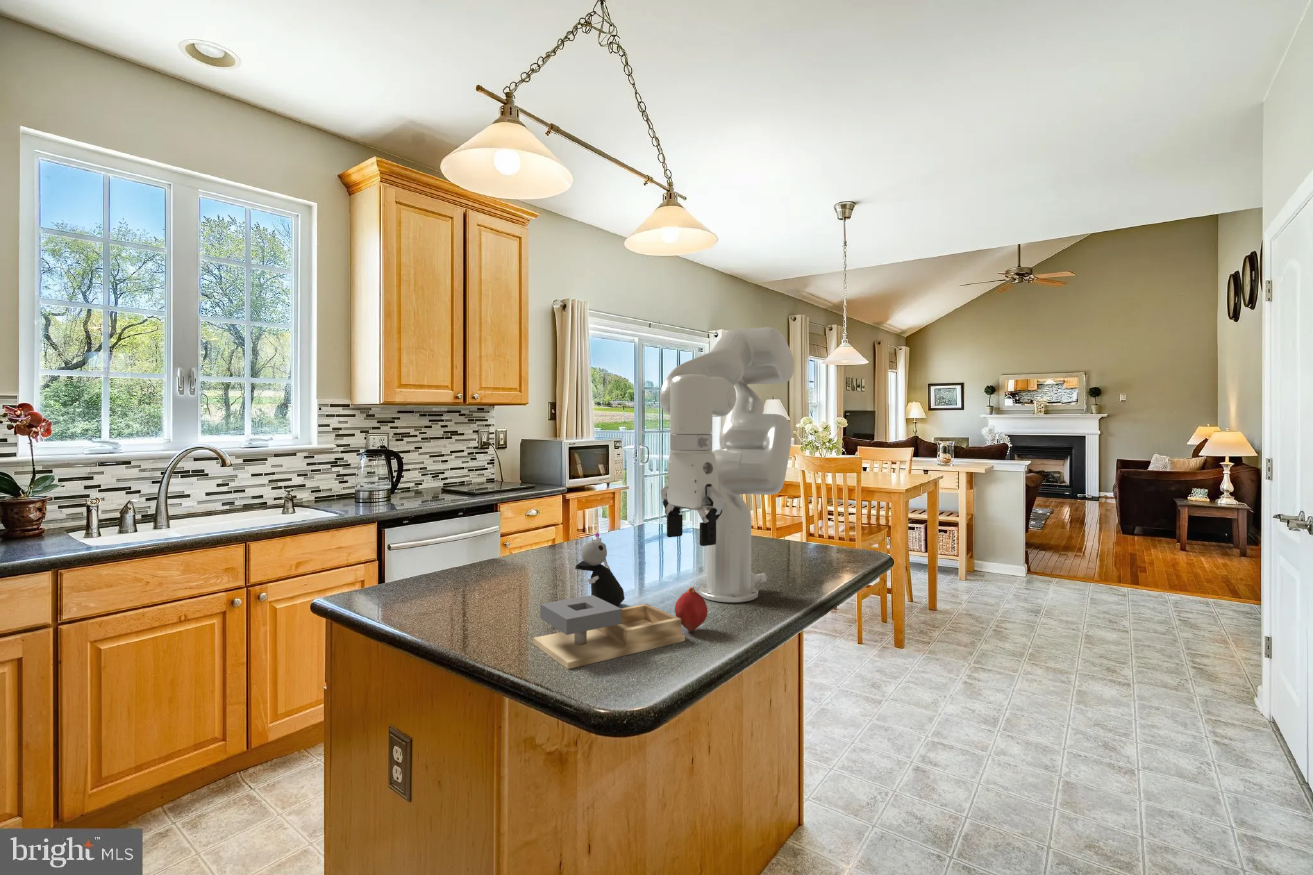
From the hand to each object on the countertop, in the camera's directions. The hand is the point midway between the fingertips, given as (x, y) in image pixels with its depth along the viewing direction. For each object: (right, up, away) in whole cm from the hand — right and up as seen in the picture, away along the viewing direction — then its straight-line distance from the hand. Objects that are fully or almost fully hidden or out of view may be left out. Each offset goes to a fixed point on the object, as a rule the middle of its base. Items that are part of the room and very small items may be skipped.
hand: (690, 540), depth 110 cm
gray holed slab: (-19, -12, -9) cm, 24 cm away
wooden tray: (-14, -16, -6) cm, 22 cm away
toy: (-17, -16, +13) cm, 27 cm away
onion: (0, -16, 0) cm, 16 cm away
